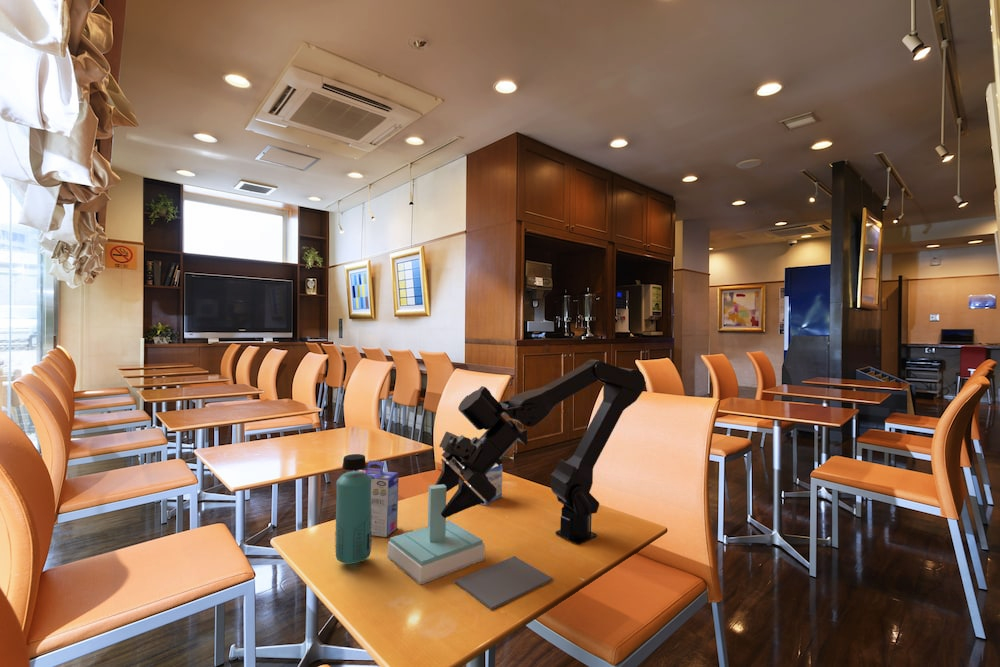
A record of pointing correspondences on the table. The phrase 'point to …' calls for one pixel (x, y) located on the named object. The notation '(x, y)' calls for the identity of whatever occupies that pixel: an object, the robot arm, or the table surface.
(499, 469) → the medicine box
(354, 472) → the beverage bottle
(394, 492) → the ink cartridge box
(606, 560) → the table surface
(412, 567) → the tub
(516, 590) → the mat
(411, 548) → the lid
